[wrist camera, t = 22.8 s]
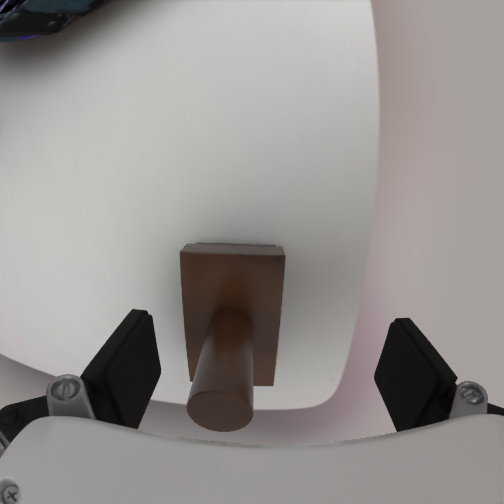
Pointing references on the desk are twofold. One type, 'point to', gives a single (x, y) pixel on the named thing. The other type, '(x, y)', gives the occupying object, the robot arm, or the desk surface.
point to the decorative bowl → (40, 16)
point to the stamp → (230, 327)
